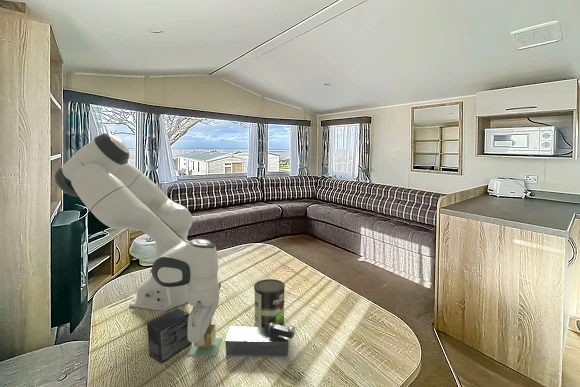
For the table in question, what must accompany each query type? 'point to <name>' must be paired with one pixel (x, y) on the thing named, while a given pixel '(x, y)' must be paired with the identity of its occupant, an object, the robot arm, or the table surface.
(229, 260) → the table surface
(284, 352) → the body
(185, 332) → the small box
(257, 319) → the coffee can
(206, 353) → the mat
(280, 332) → the lever
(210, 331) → the wooden cube with knob
